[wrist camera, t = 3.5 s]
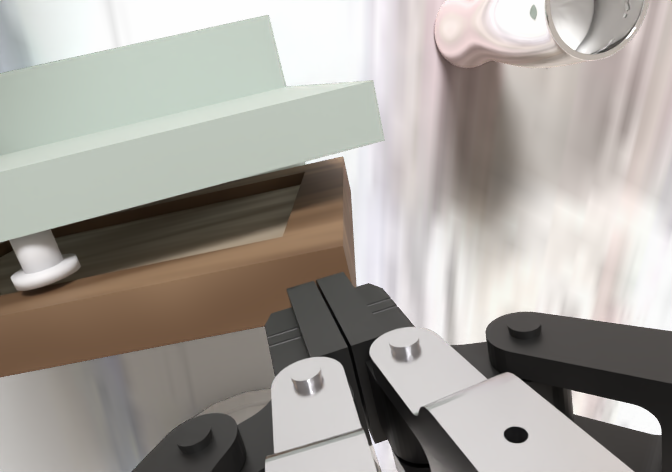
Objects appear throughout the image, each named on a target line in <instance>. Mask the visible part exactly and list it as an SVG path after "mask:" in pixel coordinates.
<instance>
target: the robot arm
mask: <svg viewBox="0 0 672 472" xmlns="http://www.w3.org/2000/svg"><path fill="white" fill-rule="evenodd" d="M316 285H317V286H316ZM286 290H287V294H288V298H289V301H290V305H291V307H290V308H287V309H284V310H281V311H277V312H274V313H271V315H270V317H269V318H268V320H267V322H266V324H265V329H266V334H267V338H268V344H269V349H270V354H271V359H272V364H273V369H274V374H275V379H274V380H273V382H272V385H271V398H272V399H271V400H270V401H269V402H268V404H267V405H266V406H265V407H264V408H263V409H261V410H260V411H259V412H258V413H256V414H255V415H253V416H252V417H250V418H248V419H246V420H245V421H243V422H241V423H240V424H238V425H237V423H236V421H235V420H234V419H233V418H232V417H231V416H229V415H227V414H223V413H209V414H204V415H200V416H197V417H194V418H192V419H190V420H188V421H186V422H184V423H182V424H181V425H179V426H177V427H176V428H175V429H173V430H172V431H171V432H170V433H169V434H168V435H167V436H166V437H165V438H164V439H163V440H162V441H161V442H160V443H159V444H158V445H157V446H156V447H155V448H154V449H153V450H152V451H151V452H150V453H149V454H148V455H147V456H146V457H145V458H144V459H143V460H142V462H141V463H140V464H139V465H138V466H137V467H136V468H135V469H134V470H133V471H132V472H377V470H376V467H375V464H374V461H373V457H372V454H371V451H370V448H369V446H371V445H372V442H371V438H370V434H369V431H370V433H371V436H372V438H373V440H374V442H375V444H376V443H379V442H382V441H385V440H387V439H388V441H389V443H390V445H391V447H392V452H393V456H394V460H395V465H396V469H397V471H398V472H672V331H665V330H658V329H651V328H644V327H637V326H630V325H623V324H616V323H608V322H601V321H594V320H587V319H580V318H573V317H566V316H558V315H551V314H544V313H537V312H517V313H511V314H507V315H504V316H501V317H499V318H497V319H495V320H494V321H492V322H491V323H490V324H489V325H488V327H487V328H486V340H487V342H481V343H473V344H465V345H449V344H448V343H447V342H446V341H444V340H443V339H442V338H441V337H440V336H439V335H438V334H437V333H435V332H434V331H432V330H429V329H426V328H421V327H415V326H414V325H413V324H412V323H411V322H410V320H409V319H408V318H407V317H406V316H405V315H404V313H403V312H402V311H401V310H400V309H399V307H397V306H396V304H395V303H394V301H393V300H392V299H390V297H389V295H388V294H387V293H386V292H385V291H384V289H383V288H380V287H377V286H374V285H372V284H369V283H368V284H365V285H361V286H358V287H354V286H353V285H352V283H351V282H350V280H349V279H348V277H347V276H346V275H345V273H344V272H340V273H337V274H333V275H330V276H327V277H324V278H320V279H317V280H316V284H315V282H314V281H311V282H307V283H304V284H301V285H297V286H294V287H291V288H287V289H286ZM571 390H574V391H578V392H582V393H587V394H591V395H595V396H600V397H604V398H609V399H613V400H617V401H622V402H626V403H630V404H634V405H638V406H640V407H643V408H644V409H646V410H648V411H649V412H651V413H652V414H653V415H654V416H655V417H656V418H657V419H658V421H659V423H660V425H661V429H662V435H652V434H648V433H644V432H640V431H636V430H632V429H628V428H625V427H621V426H617V425H613V424H609V423H605V422H601V421H597V420H594V419H590V418H586V417H582V416H578V415H574V414H573V406H572V393H571ZM368 429H369V430H368Z"/></svg>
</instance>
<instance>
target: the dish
mask: <svg viewBox="0 0 672 472" xmlns="http://www.w3.org/2000/svg"><path fill="white" fill-rule="evenodd" d="M271 399H272V398H271V388H270V389H263V390H256V391H249V392H244V393H241V394H238V395H236V396H233V397H231V398H228V399H225V400H223V401H220V402H217V403H215V404H213V405H211V406H210V407H208V408H207V409H205V410H204V411H202V412H201V413H199V414H198V415H197V416H200V415H204V414H209V413H223V414H227V415H229V416H231V417H232V418H233V419H234V420H235V421H236V423H237V425H238V424H240V423H241V422H243V421H245V420H246V419H248V418H250V417H252V416H253V415H255V414H256V413H258V412H259V411H260V410H261V409H263V408H264V407H265V406H266V405H267V404H268V402H269V401H270V400H271ZM197 416H195V417H197ZM369 448H370V451H371V454H372V457H373V461H374V464H375V467H376V470H377V472H381V469H380V466H379V463H378V460H377V457H376V454H375V451H374V448H373V445H371V446H369Z"/></svg>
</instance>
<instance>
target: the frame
mask: <svg viewBox="0 0 672 472" xmlns="http://www.w3.org/2000/svg"><path fill="white" fill-rule="evenodd" d="M51 231H52V234H53V236H54V238H55V241H56V243H57V245H58V248H59V250H60V252H61V254H69V253H73V254H76V256H77V258H78V261H79V263H80V265H81V267H80V268H79V269H78V270H77V271H76V272H75V273H73V274H71V275H70V276H68V277H66V278H64V279H62V280H59V281H57V282H54V283H52V284H49V285H46V286H43V287H40V288H36V289H32V290H26V291H18V290H16V288H15V286H14V284H13V282H12V280H11V276H12V275H13V274H14V273H15V272H17V271H19V270H20V269H22V267H21V265H20V263H19V260H18V258H17V256H16V254H15V252H14V250H13V248H12V245H11V243H10V241H9V240H7V241H4V242H0V377H4V376H10V375H15V374H20V373H25V372H30V371H35V370H41V369H46V368H51V367H56V366H61V365H66V364H72V363H77V362H82V361H87V360H92V359H97V358H103V357H108V356H113V355H118V354H123V353H128V352H133V351H139V350H144V349H149V348H154V347H159V346H164V345H170V344H175V343H180V342H185V341H190V340H195V339H201V338H206V337H211V336H216V335H221V334H226V333H232V332H237V331H242V330H247V329H252V328H257V327H263V326H265V324H266V322H267V320H268V318H269V317H270V315H271V313H274V312H277V311H281V310H284V309H287V308H290V307H291V305H290V301H289V298H288V294H287V290H286V289H287V288H291V287H294V286H297V285H301V284H304V283H307V282H311V281H314V282H315V284H316V280H317V279H320V278H324V277H327V276H330V275H333V274H337V273H340V272H344V273H345V275H346V276H347V277H348V279H349V280H350V282H351V283H352V285H353V286H354V287H356V272H355V255H354V238H353V221H352V204H351V190H350V186H349V181H348V177H347V172H346V167H345V163H344V158H343V157H338V158H334V159H329V160H325V161H320V162H316V163H311V164H307V165H302V166H297V167H293V168H288V169H284V170H279V171H275V172H270V173H266V174H261V175H257V176H252V177H248V178H243V179H239V180H234V181H230V182H226V183H222V184H219V185H215V186H211V187H207V188H203V189H200V190H196V191H192V192H188V193H185V194H181V195H177V196H173V197H170V198H166V199H162V200H158V201H154V202H151V203H147V204H143V205H139V206H136V207H132V208H128V209H124V210H121V211H117V212H113V213H109V214H105V215H102V216H98V217H94V218H90V219H87V220H83V221H79V222H75V223H71V224H68V225H64V226H60V227H56V228H53V229H51ZM316 286H317V285H316Z"/></svg>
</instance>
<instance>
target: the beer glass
mask: <svg viewBox="0 0 672 472" xmlns="http://www.w3.org/2000/svg"><path fill="white" fill-rule="evenodd" d="M649 2H650V0H445V1H444V3H443V4H442V6H441V7H440V9H439V11H438V14H437V16H436V20H435V27H434V34H435V40H436V44H437V47H438V49H439V51H440V53H441V54H442V56H443V57H444V58H445V59H446V60H447V61H448V62H450V63H451V64H453V65H455V66H458V67H461V68H473V67H477V66H480V65H482V64H484V63H487V62H488V61H490V60H492V61H497V62H500V63H504V64H509V65H513V66H518V67H526V68H552V67H560V66H567V65H572V64H577V63H582V62H586V61H594V60H601V59H604V58H607V57H609V56H612V55H614V54H615V53H617V52H618V51H620V50H621V49H622V48H624V47H625V46H626V45H627V44H628V43H629V42H630V41H631V40H632V38H633V37H634V36H635V34H636V33H637V32H638V30H639V28H640V27H641V25H642V23H643V21H644V18H645V16H646V13H647V10H648V6H649Z"/></svg>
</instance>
